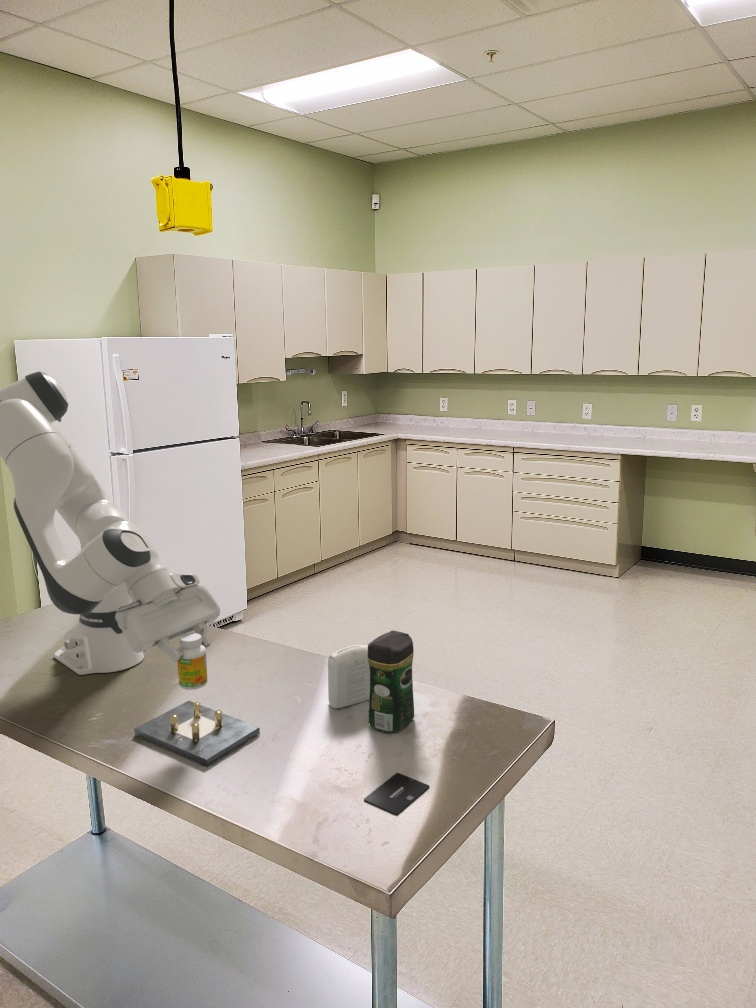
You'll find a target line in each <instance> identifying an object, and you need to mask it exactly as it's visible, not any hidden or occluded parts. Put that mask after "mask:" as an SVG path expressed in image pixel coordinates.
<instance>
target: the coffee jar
mask: <svg viewBox="0 0 756 1008" xmlns="http://www.w3.org/2000/svg"><path fill="white" fill-rule="evenodd" d="M367 646H368V657H367V658H368V663H369V667H370V695H369V700H368V725H369V726H370V727H371V728H373V729H374V730H376V731H378V732H382V733H395V734H396V733H398V732H400V731H402V730H404V729H405V728H406V727H407V726H408V725H410V724H411V722H412V721H413V720H414V718H415V702H414V701H415V699H414V689H413V688H414V683H413V682H414V681H413V662H414V661H413V660H414V652H415V651H414V642H413V639H412V637H411V636H410V634H409V633H405V632H402V631H398V630H390V631H387V632H385V633H384V634H383V633H382V634H381V635H380V636H377V637H376V638H374V639H373V640H372V641H370V642H369V643H368V645H367Z"/></svg>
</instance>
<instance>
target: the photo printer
mask: <svg viewBox="0 0 756 1008" xmlns="http://www.w3.org/2000/svg"><path fill="white" fill-rule="evenodd" d="M367 657H368V645H366V644H354V645H350V646H344V648H340V649H338V650H337V651H334V652H333V653H331V654H330V655H329V656H328V659H327V668H328V669H327V672H328V673H327V682H328V683H327V686H328V687H327V688H328V696H327V697H328V704H329V706H330V707H331V708H333V709H343V708H345V707H350V706H353V705H356V704H359V703H363V702H366V701H369V695H370V667H369V663H368V658H367Z"/></svg>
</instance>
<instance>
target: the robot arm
mask: <svg viewBox="0 0 756 1008" xmlns="http://www.w3.org/2000/svg"><path fill="white" fill-rule="evenodd" d="M24 377H25V378H22V379H19V380H17V381H15V382H12V383H10V384H9V385H6V386H4V387H2V388H1V389H0V458H1V459H2V460H3V463H5V465H6V466H7V468H8V470H9V472H10V474H11V477H12V480H13V484H14V493H15V495H14V499H13V510H14V513H15V516H16V517H17V520H18V523H19V526H20V528H21V529H22V532H23V534H24V536H25V539H26V542H28V545H29V548H30V550H31V552H32V554H33V556H34V558H35V560H36V563H37V565H38V567H39V569H40V571H41V574H42V577H43V580H44V585H45V587H46V591H47V594H48V597H49V598H50V601H51V602H52V604H53V605H54V606H55V607H56V608H57V609H58V610H59V611H61V612H63V613H65V614H69V615H76V616H77V615H79V618H78V621H77V622H76V623H74V624H73V625H72V626H71V627H70V628H69V629H67V630H66V631H65V633H64V635H63V646H62V647H61V648H59V649H58V650H56V651H55V652H54V655H53V656H54V658H55V659H56V660H57V661H59V662H60V663H61V664H63V665H64V666H65V667H67V668H68V669H70V670H71V671H73V672H74V673H76V674H77V675H80V676H81V675H82V676H84V675H89V674H98V673H99V674H102V673H104V674H105V673H113V672H114V673H115V672H119V671H124V670H126V669H129V668H132V667H134V666H136V665H137V664H139V663H141V662H142V661H143V659H144V657H145V653H144V652H145V651H146V650H150V649H152V648H154V647H156V646H157V648H158V649H159V651H161V652H163V653H165V654H166V655H168V656H170V658H171V660H172V661H173V662H174V663H176V662H177V661H179V660H181V659H182V658H183V657H184V654H183V653H182V652H181V649H180V647H178V648H176V647H174V646H173V645H171V644H170V643H171V641H172V640H173V639H176V638H178V637H179V638H180V637H181V636H182V635H185V634H189V633H191V632H193V631H194V632H195V633H197V634H200V635H201V639H202V643H201V645H203V646H204V647H205V649H206V650H207V649H208V648H210V646H211V645H212V643H211V641H210V639H209V638H208V625H210V624H213V623H215V621H216V620H218V618H219V616H220V615H221V607H220V605H219V604H218V603H217V601H216V600H215V598H214V597H213V595H212V593H210V591H209V589H207V588H206V587H205V586H203V585H200V582H201V580H200V578H199V577H198V575H197V574H194V573H176V572H175V573H174V572H170V570H169V569H168V567H166V566H165V565H164V564H163V563H162V561H161V560H160V557H159V554H158V552H157V550H156V549H155V547H154V545H152V543H151V541H150V540H149V539H148V538H147V536H146V535H145V533H143V532H142V530H141V529H140V528H139V527H138V526H137V525H136V524H135V523H133V522H131V521H130V519H129V517H128V516H127V514H125V513H124V512H123V511H122V510H121V509H119V507H118V506H116V505H115V503H114V502H113V501H112V500H111V498H110V497H109V496H108V494H107V493H106V492H105V490H104V489H103V487H102V485H101V484H100V482H99V481H98V480H97V478H96V476H95V475H94V473H93V471H92V470H91V469H90V468H89V466H88V464H87V463H86V462H85V461H84V459H83V458H82V456H81V455H80V454H79V453H78V452H77V450H76V449H75V447H74V446H73V445H72V443H71V442H70V441H69V440H68V438H67V437H66V435H65V434H63V432H62V431H61V430H60V429H59V428H58V426H56V424H54V423H53V422H55V421H58V422H59V423H61V422H62V418H63V417H64V415H66V413H67V411H68V408H69V402H68V397H67V395H66V391H65V389H64V388H63V387H62V385H61V384H60V382H58V380H56V379H55V378H53V377H52V376H50V375H48V374H47V373H46V372H42V371H36V372H32V373H29V374H26V375H25V376H24ZM56 511H57V513H59V515H60V516H61V518H62V519H63V520H64V521H65V523H66V524H67V525H68V527H69V528H70V530H71V531H72V532H73V533H74V535H76V537H77V538H78V541H79V543H80V550H79V551H78V552H77V553H76V554H74V555H73V556H72V557H71V558H69V557H68V555H67V553H66V551H65V549H64V547H63V546H64V545H63V544H62V542H61V539H60V538H59V536H58V534H57V532H56V529H55V525H54V518H55V512H56Z"/></svg>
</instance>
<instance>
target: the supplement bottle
mask: <svg viewBox="0 0 756 1008" xmlns="http://www.w3.org/2000/svg"><path fill="white" fill-rule="evenodd" d="M201 643H202V639H201V635H200V634H197V633H196V632H195V633H194V632H193V633H191V632H188V633H186V634H183V635H181V636H179V645H180V647H179V648H180V649H181V652H182V653H183V654H184V657H183V658H182V659H181V660H179V661H176V662H177V673H178V676H177V677H178V686H179V687H180V688H181V689H184V690H188V691H191V690H192V691H194V690H198V689H202V688H203V687H205V686H206V685H207V684H208V669H207V668H208V665H207V648H206V649H205V647H204V646H203V645H201Z"/></svg>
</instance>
